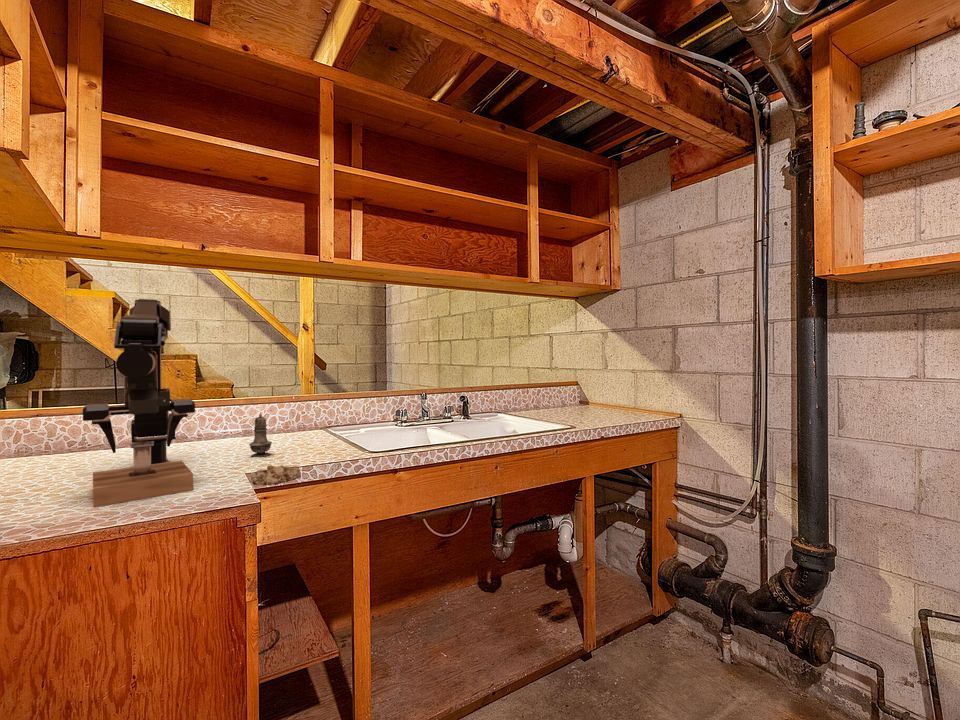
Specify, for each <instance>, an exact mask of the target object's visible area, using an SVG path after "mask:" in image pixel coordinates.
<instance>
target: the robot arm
mask: <svg viewBox="0 0 960 720" xmlns="http://www.w3.org/2000/svg"><path fill="white" fill-rule="evenodd" d="M171 320H172V319H171V312H170V310H169V309H167V308H165V307H164V306H163V305H162V303H161V300H157V299H153V298H152V299H148V298H147V299H146V298H138V299H135V300H134V305H133V306H132V307H131V308H130V309H129V314H125V315H123V316H122V317H121V318H120V321H117V322H116V326H115V336H114V337H115V338H114V346H113V348H114V349H117V350H118V349H123V351H122V352H121V353H120V354H118V355H119V356H118V357H117V358H116V361H115V365H116V369H117V370H118V372H119V373H120V374H122V375H123V394H124V395H123V397H124V398H123V400H124V401H123V402H124V405H116V406H114V405H113V406H109V403H108V402H107V403H91V404H90V403H89V404H88V403H87V404H85V405H84V406H83V407H82V421H83V422H84V421H85V422H87V421H91V425H98V426H99V427H100V429H101V431H102V432H103V434H104V435H105V436H106V440H107V442H108V444H109V446H110V449H111V452H112V454H114V453H115V454H116V451H117V449H116V447H117V446H116V441H115V436H114V432H113V425H112V421H111V416H120V415H133V416H134V417H133V419H131V420H130V431H131V432H130V434H131V443H134V442H140V441H154V446H151V464H158V463H166V462H170V461H169V459H168V457H167V447H170V446H171V444H172V441H173V440H176V430H177V428H178V426H179V424H180V422H181V421H182V420H183V418H187V417H189V414H194V413H195V412H196V404H195V401H194V400H192V399H190V398H177V399H171V391H170V387H169V388H162V347H163V346H165V345H166V340H168V338H169V331H171V330H172V321H171Z"/></svg>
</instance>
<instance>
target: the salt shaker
mask: <svg viewBox="0 0 960 720" xmlns="http://www.w3.org/2000/svg"><path fill="white" fill-rule="evenodd" d="M267 431H268V429H267V418H265V417H264V416H262V414H261V413H259V415H258V417H256V418H255V419H254V429H253V432H254V439H253V441H252V442H250V443H249V444H248V445H249V447H250V450H251V451H252V454H251V455H250V456H251V457H264V458H267V457H266V456H268V457H271V456H272V454H271V453H270V452H268V451H270V449H271V447H272V443H273V442H272V441H269V440H268V436H267ZM270 455H271V456H270ZM251 457H250V458H251Z"/></svg>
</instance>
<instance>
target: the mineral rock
mask: <svg viewBox="0 0 960 720" xmlns="http://www.w3.org/2000/svg"><path fill="white" fill-rule="evenodd" d="M249 476H250V478H251V482H252V483H255V484H256V485H257V486H264V485H265V486H268V485H269V486H273V485H277V484H281V483H285V482H289V481H293V480H296V479H297V478H299V477H300V476H301V469H300V467H299V466H296V465H294V466H286V465H285V466H284V465H279V466H275V465H271V464H269V465H267V466H266V469H259V470H258V469H257V470H256V471H255V472H252V473H250V474H249Z"/></svg>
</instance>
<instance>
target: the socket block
mask: <svg viewBox="0 0 960 720" xmlns="http://www.w3.org/2000/svg"><path fill="white" fill-rule="evenodd" d="M92 488H93V489H92V491H93V492H92V494H93V496H92V499H93V504H92V505H93V508H97V507H96V506H98V507H103V506H102V505H104V506H109V505H108V504H110V505H114V504H113V503H116V504H120V503H119V502H122V503H127V502H132V500H133V501H138V500H144V499H150V498H156V497H160V496H161V497H162V496H167V495H174V494H179V493H184V491H185V492H190V491H194V473H193V472H192V471H191V469H189V467H188V466H187V465H186V464H185V463H184V461H182V460H175V461H169V462H166V463H158V464H151V474H147V475H140V476H134V466H130V467H122V468H115V469H107V470H100V471H93V472H92ZM173 493H174V494H173ZM126 501H127V502H126Z"/></svg>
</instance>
